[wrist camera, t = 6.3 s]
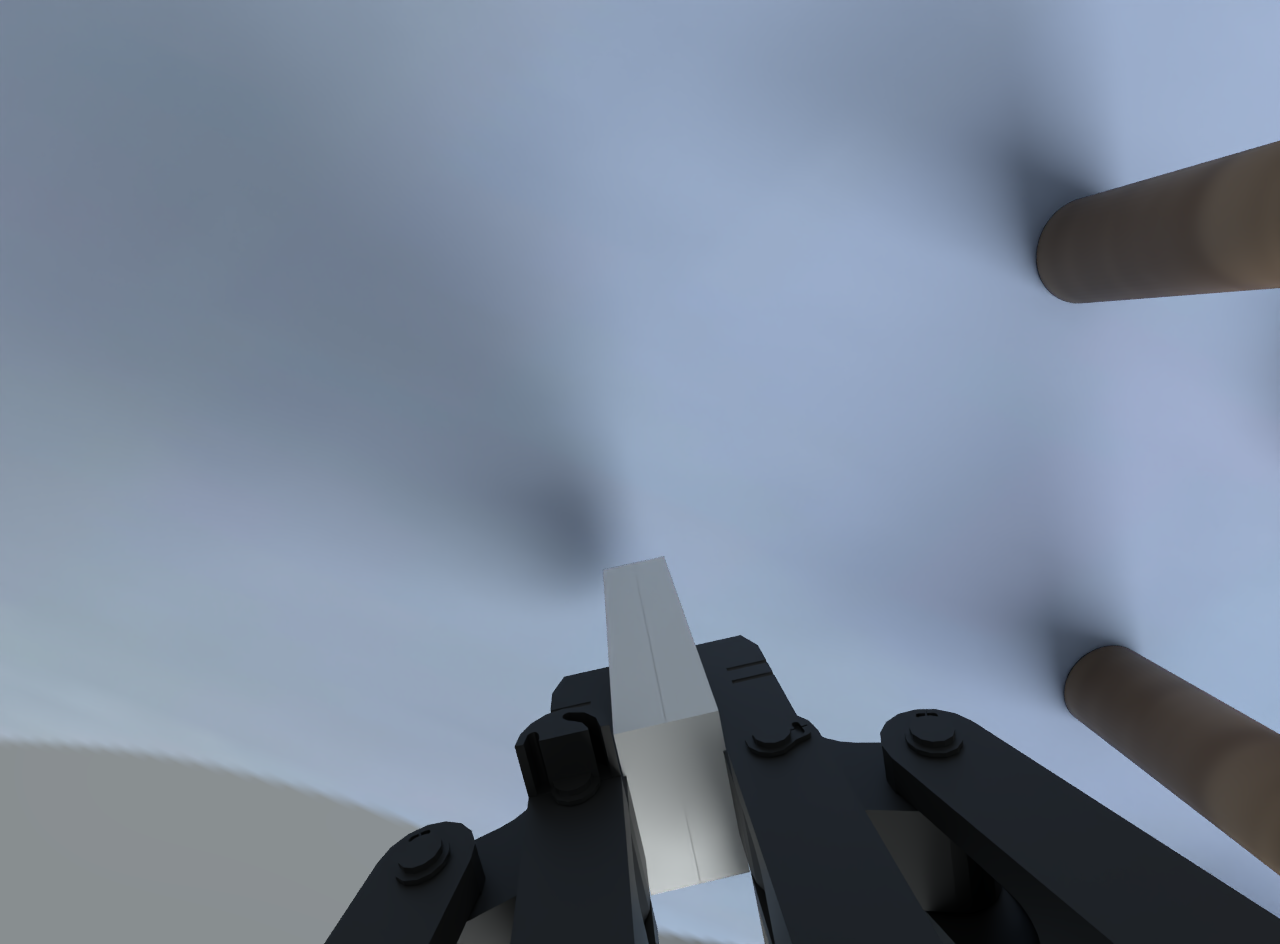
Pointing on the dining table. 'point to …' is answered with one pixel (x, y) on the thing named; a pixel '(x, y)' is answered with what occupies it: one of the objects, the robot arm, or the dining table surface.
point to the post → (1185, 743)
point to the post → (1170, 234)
